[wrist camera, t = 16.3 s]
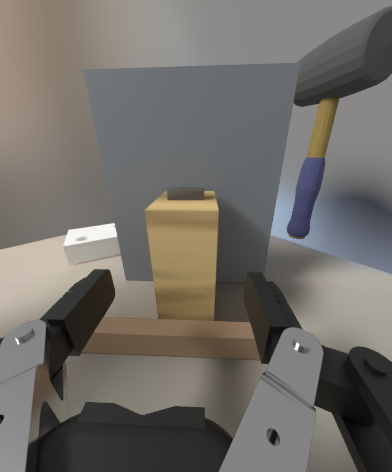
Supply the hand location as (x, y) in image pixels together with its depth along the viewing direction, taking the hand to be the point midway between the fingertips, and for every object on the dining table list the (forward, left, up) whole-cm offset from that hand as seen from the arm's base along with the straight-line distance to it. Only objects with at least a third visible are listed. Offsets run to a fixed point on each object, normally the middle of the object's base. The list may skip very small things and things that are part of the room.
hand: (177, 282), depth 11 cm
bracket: (+10, +23, -9) cm, 27 cm away
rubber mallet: (+32, -5, -9) cm, 34 cm away
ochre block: (+6, +3, -8) cm, 11 cm away
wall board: (+6, +3, -8) cm, 11 cm away
